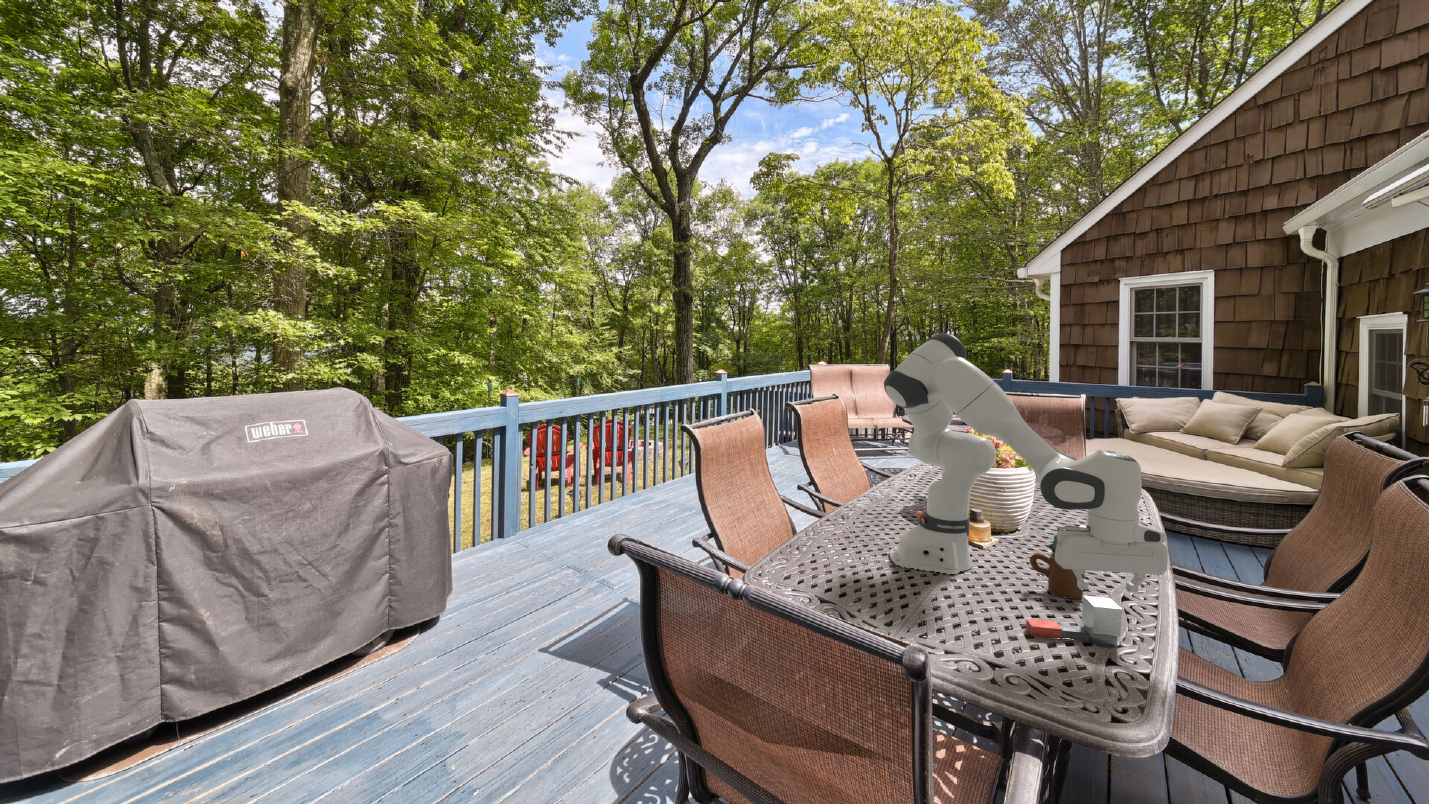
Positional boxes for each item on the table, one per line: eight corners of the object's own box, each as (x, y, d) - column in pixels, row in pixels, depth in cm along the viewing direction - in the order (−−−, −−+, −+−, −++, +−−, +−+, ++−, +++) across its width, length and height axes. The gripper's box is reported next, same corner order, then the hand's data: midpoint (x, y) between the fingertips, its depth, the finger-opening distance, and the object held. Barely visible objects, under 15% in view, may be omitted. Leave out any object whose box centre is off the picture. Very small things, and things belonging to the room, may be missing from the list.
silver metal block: (1092, 633, 114) (1094, 606, 114) (1081, 621, 119) (1083, 595, 119) (1120, 636, 113) (1122, 609, 113) (1107, 624, 118) (1109, 597, 118)
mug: (1026, 590, 140) (1029, 555, 139) (1029, 580, 147) (1031, 546, 146) (1082, 603, 133) (1085, 566, 133) (1083, 591, 140) (1085, 556, 139)
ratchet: (1033, 639, 117) (1034, 615, 116) (1023, 625, 122) (1025, 602, 122) (1122, 649, 113) (1124, 624, 113) (1108, 634, 119) (1110, 610, 118)
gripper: (1064, 529, 113) (1060, 592, 115) (1175, 535, 110) (1169, 600, 111) (1051, 520, 119) (1047, 580, 121) (1156, 525, 116) (1151, 587, 117)
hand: (1106, 589), depth 116 cm, fingers open, 8 cm apart
